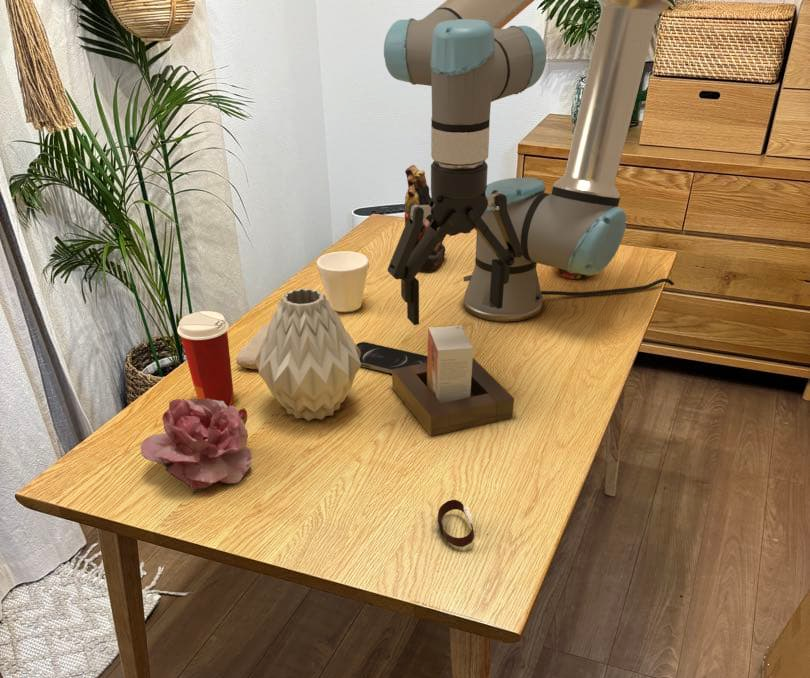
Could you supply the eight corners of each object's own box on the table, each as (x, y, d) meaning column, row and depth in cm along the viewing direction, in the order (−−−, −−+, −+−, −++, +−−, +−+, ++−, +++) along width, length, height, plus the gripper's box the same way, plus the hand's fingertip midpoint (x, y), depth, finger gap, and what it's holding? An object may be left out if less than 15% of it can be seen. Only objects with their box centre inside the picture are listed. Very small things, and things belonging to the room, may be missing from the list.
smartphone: (361, 340, 143) (435, 357, 137) (361, 345, 143) (435, 362, 138) (339, 357, 138) (415, 375, 132) (339, 362, 138) (415, 380, 133)
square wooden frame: (468, 372, 135) (469, 353, 133) (512, 417, 124) (514, 398, 122) (392, 388, 131) (392, 369, 129) (430, 436, 120) (431, 416, 118)
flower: (119, 468, 109) (126, 407, 103) (180, 427, 120) (190, 370, 114) (212, 516, 107) (225, 458, 101) (265, 470, 119) (279, 415, 113)
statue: (431, 275, 168) (433, 175, 155) (398, 269, 171) (396, 170, 158) (453, 256, 176) (457, 160, 163) (421, 250, 179) (422, 155, 166)
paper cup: (248, 394, 130) (236, 313, 121) (225, 417, 124) (211, 334, 115) (207, 386, 132) (191, 306, 123) (182, 409, 126) (164, 327, 117)
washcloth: (336, 334, 147) (335, 318, 145) (300, 379, 134) (298, 363, 132) (277, 326, 149) (275, 311, 147) (236, 370, 136) (233, 354, 134)
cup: (370, 296, 160) (369, 250, 154) (370, 317, 152) (368, 269, 146) (321, 297, 160) (317, 251, 154) (318, 318, 152) (314, 270, 146)
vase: (250, 394, 130) (234, 285, 118) (344, 375, 135) (337, 268, 123) (278, 444, 118) (263, 329, 106) (379, 421, 123) (376, 308, 111)
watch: (481, 547, 100) (483, 525, 98) (445, 552, 99) (446, 530, 97) (465, 511, 106) (466, 489, 103) (431, 515, 105) (431, 493, 103)
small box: (426, 386, 129) (427, 326, 123) (459, 384, 130) (462, 324, 123) (435, 412, 123) (436, 350, 117) (470, 409, 124) (473, 347, 117)
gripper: (528, 142, 110) (517, 289, 124) (360, 165, 103) (368, 317, 117) (556, 156, 105) (541, 308, 119) (381, 181, 98) (386, 339, 112)
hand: (455, 313), depth 118 cm, fingers open, 13 cm apart
